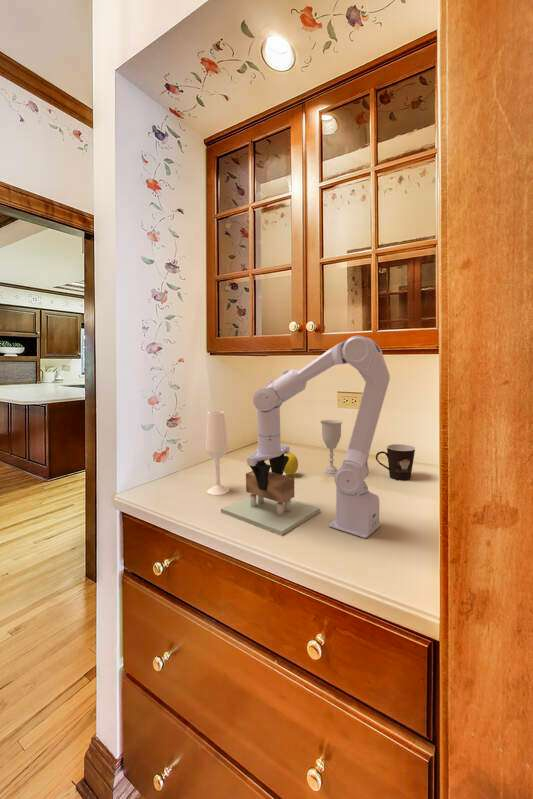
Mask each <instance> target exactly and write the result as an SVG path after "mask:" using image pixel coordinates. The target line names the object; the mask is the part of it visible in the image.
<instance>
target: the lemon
mask: <svg viewBox="0 0 533 799" xmlns="http://www.w3.org/2000/svg"><path fill="white" fill-rule="evenodd" d="M284 456H288V457H289V461H288V462H287V464H286V466H285V468H284V471H283V473H285V474H286V475H287V476H289V477H292V475H294V474H296V472H297V471H298V468H299V461H298V458H297V456H296V455H295V454H293V453H292V452H289V454H284Z"/></svg>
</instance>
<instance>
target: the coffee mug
mask: <svg viewBox="0 0 533 799" xmlns="http://www.w3.org/2000/svg"><path fill="white" fill-rule="evenodd" d="M415 453H416V447H414V446H412V445H409V444H403V443H402V444H401V443H400V444H399V443H398V444H397V443H396V444H395V443H394V444H388V445H387V446H386V452H385V451H379V452H377V453H376V455H375V460H376V462H377V463H378V464H379V465H381V466H382V467H384V468H385V469H387V470H388V472H389V478H390V479H392V480H394V479H395V481H399V480H400V481H399V482H403V481H405V482H406V480H407V481H410V480H411V479H410V478H411V476H412V470H413V464H414V457H415ZM381 454H384V455H385V456H386V457H387V460H388V461H387V462H388V466H386V465H385V464H383V463H382V462H381V461H380V460H379V458H378V456H379V455H381ZM401 480H402V481H401Z"/></svg>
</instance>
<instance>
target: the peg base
mask: <svg viewBox="0 0 533 799" xmlns="http://www.w3.org/2000/svg"><path fill="white" fill-rule="evenodd" d="M320 512H321V508H320V507H318V506H314V505H311V504H308V503H304V502H301V501H298V500H295V499H292V498H291V499H289V500H288V501H286V502H284V503H280V502H277V501H274V500H270V499H267V498H264V497H261V496H258V495H254V494H251V493H249V495H248V496H246V497H244V498H242V499H239V500H237V501H236V502H235V501H234V502H233V503H231V504H229V505H226V506H224V507H221V508H220V513H222V514H224V515H227V516H230V517H231V518H232V517H233V518H235V519H237V520H240V521H243V522H246V523H248V524H250V525H253V526H256V527H258V528H261V529H264V530H266V531H269V532H272V533H274V532H275V533H274V534H276V533H277V535H279V534H280V535H279V536H283V534H284V535H285V534H286V533H288V532H290V531H291V530H293V529H295V528H296V527H298V526H300V525H301V524H303V523H304V522H306V521H308V520H309V519H311V518H312V517H314V516H316V515H317V514H319V513H320Z"/></svg>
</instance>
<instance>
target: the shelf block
mask: <svg viewBox="0 0 533 799" xmlns="http://www.w3.org/2000/svg"><path fill="white" fill-rule="evenodd" d="M245 491H246V493H248V494H254V495H258V496H261V497H264V498H267V499H270V500H274V501H277V502H280V503H284V502H286V501H288V500H289V499H291V500H292V499H293V498H295V477H294V476H293V477H292V476H289V475H285V474H283V475H281V474H277V473H273V472H271V471H269V474H268V485H267V490H266V491H264V490H260V489H259V487H258V483H257V480H256V477H255V474H254V472H253V471H252V470H251V471H249V472H245Z"/></svg>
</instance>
